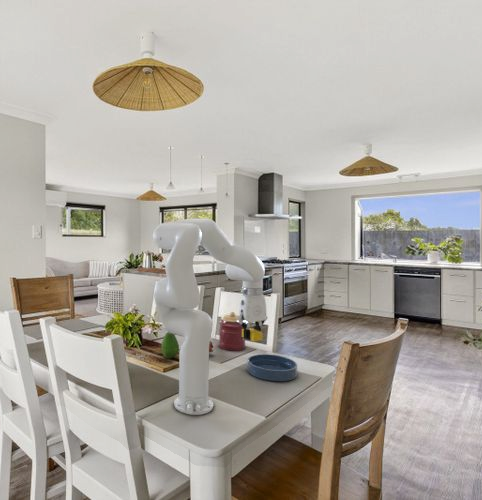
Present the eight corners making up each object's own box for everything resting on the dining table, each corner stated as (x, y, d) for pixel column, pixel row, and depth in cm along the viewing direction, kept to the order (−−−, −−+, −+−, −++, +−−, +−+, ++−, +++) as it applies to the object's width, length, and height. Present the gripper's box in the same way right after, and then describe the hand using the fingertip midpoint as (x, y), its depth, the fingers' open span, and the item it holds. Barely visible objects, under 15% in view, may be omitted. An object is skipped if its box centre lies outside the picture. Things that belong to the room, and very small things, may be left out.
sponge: (262, 340, 139) (262, 332, 139) (253, 341, 137) (253, 333, 137) (250, 335, 145) (250, 328, 145) (241, 336, 143) (241, 329, 143)
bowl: (303, 383, 136) (303, 371, 136) (251, 381, 138) (251, 369, 138) (289, 365, 155) (289, 355, 155) (244, 363, 157) (244, 353, 157)
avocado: (159, 360, 160) (159, 333, 160) (163, 354, 168) (163, 329, 167) (177, 361, 158) (177, 334, 158) (180, 356, 166) (180, 330, 166)
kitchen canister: (218, 350, 175) (219, 314, 174) (218, 342, 188) (219, 308, 187) (246, 351, 173) (247, 315, 172) (244, 343, 186) (245, 309, 185)
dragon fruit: (212, 355, 172) (197, 366, 163) (199, 342, 175) (184, 352, 167) (220, 344, 167) (206, 354, 158) (207, 331, 171) (192, 340, 162)
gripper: (241, 294, 133) (240, 343, 134) (276, 291, 140) (275, 337, 141) (228, 291, 140) (228, 338, 141) (262, 288, 147) (262, 332, 148)
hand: (252, 337), depth 141 cm, fingers closed on sponge, 4 cm apart
